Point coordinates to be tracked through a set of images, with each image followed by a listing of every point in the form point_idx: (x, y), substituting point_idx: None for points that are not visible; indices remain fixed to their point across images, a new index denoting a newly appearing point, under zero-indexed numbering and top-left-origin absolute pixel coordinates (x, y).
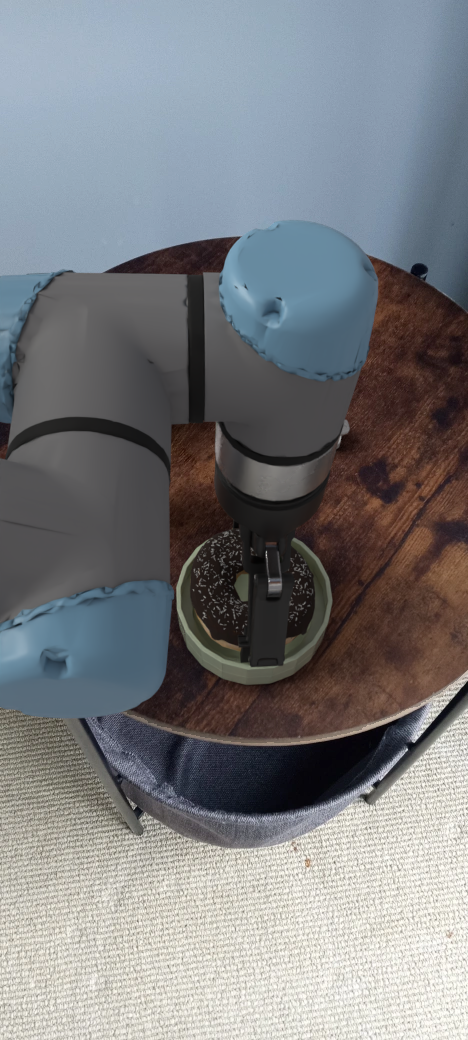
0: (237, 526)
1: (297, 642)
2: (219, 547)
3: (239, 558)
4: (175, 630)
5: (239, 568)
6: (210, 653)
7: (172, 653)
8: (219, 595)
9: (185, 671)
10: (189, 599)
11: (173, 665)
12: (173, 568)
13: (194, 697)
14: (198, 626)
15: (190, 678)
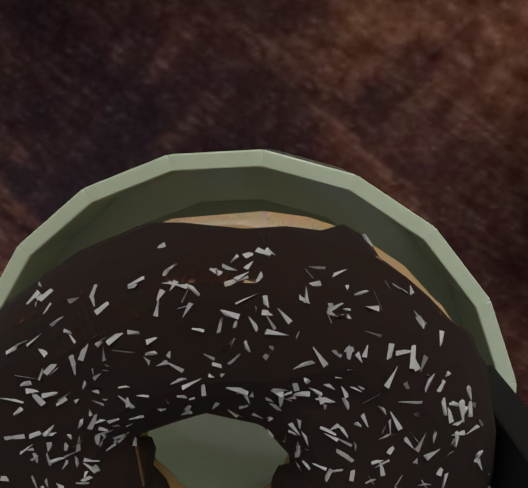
0: (503, 443)
1: (167, 462)
2: (375, 385)
3: (321, 459)
4: (203, 139)
5: (281, 444)
6: (9, 277)
7: (135, 132)
8: (110, 378)
9: (86, 170)
10: (256, 189)
11: (101, 136)
12: (406, 126)
13: (18, 196)
14: (206, 208)
15: (68, 184)
